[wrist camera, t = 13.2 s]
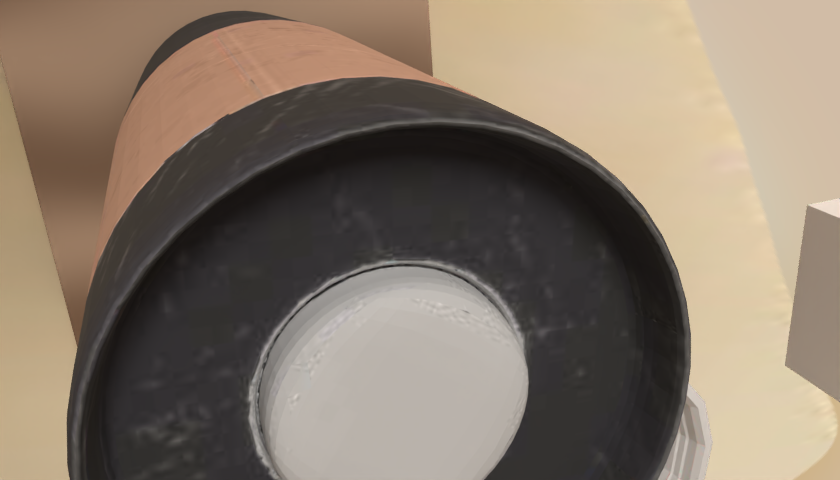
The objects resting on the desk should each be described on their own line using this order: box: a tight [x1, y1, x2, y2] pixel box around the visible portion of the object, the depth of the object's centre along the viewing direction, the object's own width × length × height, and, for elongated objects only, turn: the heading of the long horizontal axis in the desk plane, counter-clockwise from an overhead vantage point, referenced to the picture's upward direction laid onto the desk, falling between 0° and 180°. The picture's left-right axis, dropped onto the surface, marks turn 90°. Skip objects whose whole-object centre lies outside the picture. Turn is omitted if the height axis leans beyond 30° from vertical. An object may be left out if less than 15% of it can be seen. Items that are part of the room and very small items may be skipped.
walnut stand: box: [0, 0, 433, 347], centre depth 29 cm, size 15×14×4 cm
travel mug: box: [67, 11, 691, 480], centre depth 18 cm, size 8×8×20 cm
